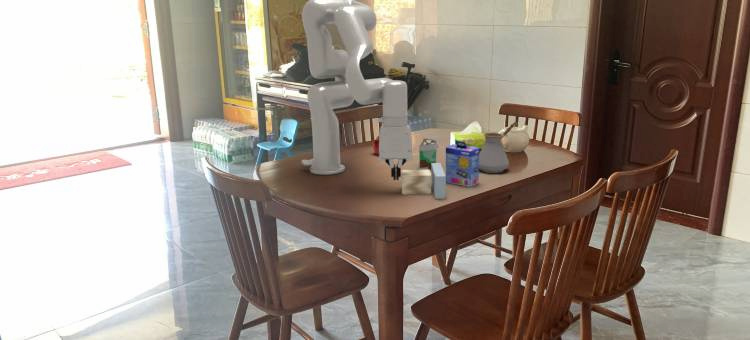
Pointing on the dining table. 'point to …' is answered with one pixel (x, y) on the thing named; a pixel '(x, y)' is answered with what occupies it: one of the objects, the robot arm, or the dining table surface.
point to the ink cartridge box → (462, 164)
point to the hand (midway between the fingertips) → (396, 179)
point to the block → (416, 182)
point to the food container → (427, 153)
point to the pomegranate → (376, 146)
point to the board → (438, 180)
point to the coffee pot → (494, 153)
